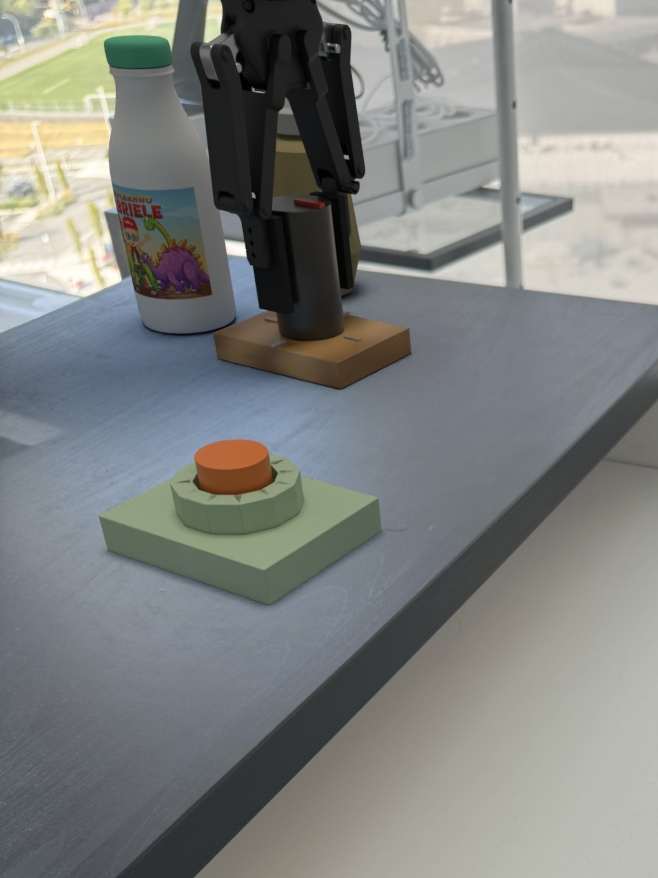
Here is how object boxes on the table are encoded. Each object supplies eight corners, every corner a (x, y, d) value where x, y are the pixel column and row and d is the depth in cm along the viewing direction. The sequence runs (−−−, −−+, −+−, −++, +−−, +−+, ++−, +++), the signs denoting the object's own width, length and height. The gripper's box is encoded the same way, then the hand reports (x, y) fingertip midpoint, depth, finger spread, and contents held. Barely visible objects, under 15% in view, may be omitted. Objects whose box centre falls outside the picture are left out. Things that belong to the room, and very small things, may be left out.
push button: (184, 488, 65) (178, 458, 64) (233, 462, 68) (228, 433, 67) (239, 505, 64) (234, 475, 62) (287, 478, 66) (283, 448, 65)
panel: (216, 359, 90) (211, 330, 89) (293, 325, 97) (289, 298, 95) (339, 390, 86) (336, 360, 85) (412, 353, 92) (410, 325, 91)
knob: (265, 332, 89) (245, 200, 83) (307, 314, 93) (290, 186, 87) (316, 344, 88) (299, 210, 82) (357, 326, 91) (344, 196, 85)
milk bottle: (180, 301, 101) (126, 27, 88) (255, 313, 99) (212, 35, 86) (121, 328, 95) (55, 40, 83) (200, 341, 93) (145, 49, 81)
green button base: (107, 550, 67) (89, 485, 64) (227, 485, 74) (216, 424, 71) (270, 606, 62) (258, 538, 60) (382, 531, 69) (375, 467, 67)
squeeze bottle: (256, 299, 102) (219, 59, 90) (300, 273, 108) (271, 45, 96) (340, 310, 100) (313, 66, 89) (380, 283, 106) (360, 51, 95)
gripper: (195, -68, 66) (260, 343, 81) (398, -83, 79) (422, 273, 94) (99, -76, 69) (179, 324, 83) (311, -88, 82) (347, 258, 97)
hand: (307, 297), depth 89 cm, fingers open, 6 cm apart
